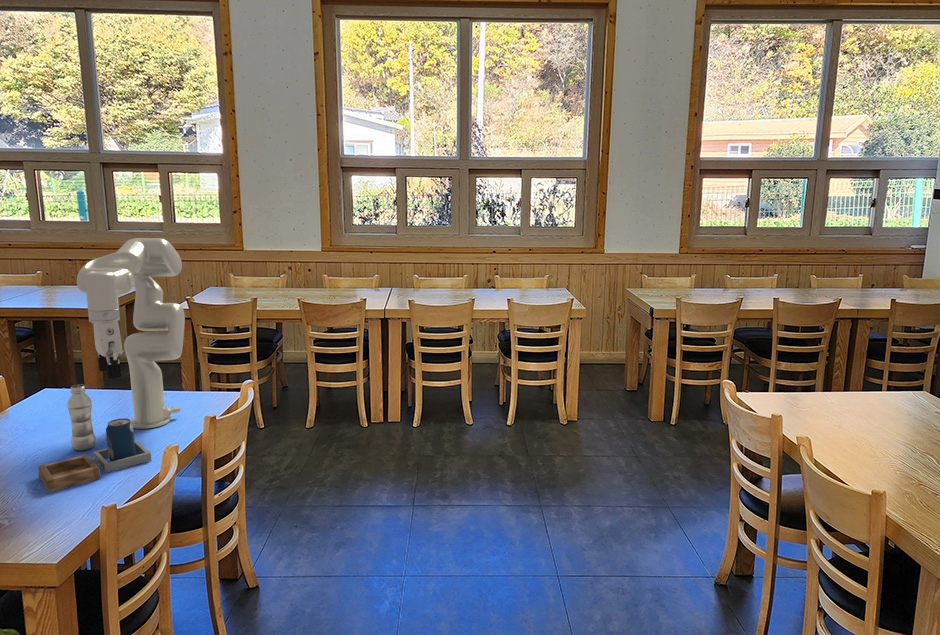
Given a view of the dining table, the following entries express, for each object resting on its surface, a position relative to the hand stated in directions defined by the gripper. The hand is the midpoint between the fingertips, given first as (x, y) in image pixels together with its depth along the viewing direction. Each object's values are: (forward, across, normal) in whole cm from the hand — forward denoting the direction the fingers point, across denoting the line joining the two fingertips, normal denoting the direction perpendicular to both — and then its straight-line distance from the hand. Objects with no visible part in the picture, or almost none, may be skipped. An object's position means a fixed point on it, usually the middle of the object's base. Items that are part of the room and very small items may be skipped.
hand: (110, 374), depth 174 cm
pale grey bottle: (+27, +16, +5) cm, 32 cm away
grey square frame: (+26, -1, -1) cm, 27 cm away
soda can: (+27, -1, -1) cm, 27 cm away
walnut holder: (+26, -4, +13) cm, 30 cm away
